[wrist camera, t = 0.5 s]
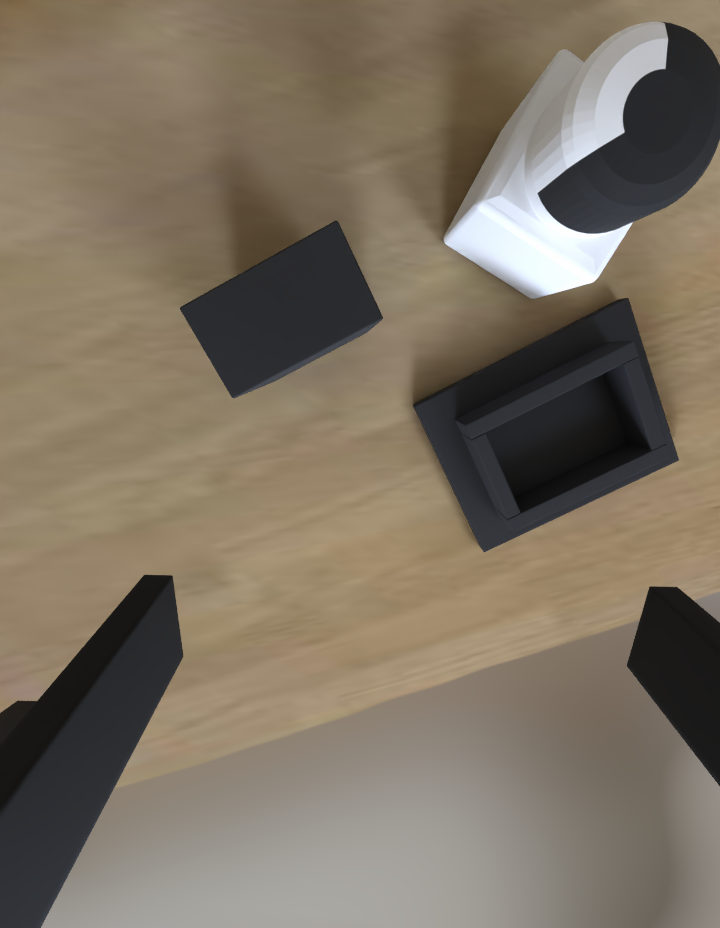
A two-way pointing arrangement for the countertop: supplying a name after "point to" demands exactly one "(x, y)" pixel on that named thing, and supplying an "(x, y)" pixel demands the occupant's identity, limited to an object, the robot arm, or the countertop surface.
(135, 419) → the countertop surface
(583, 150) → the medicine bottle
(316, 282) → the upright block
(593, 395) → the base pad
